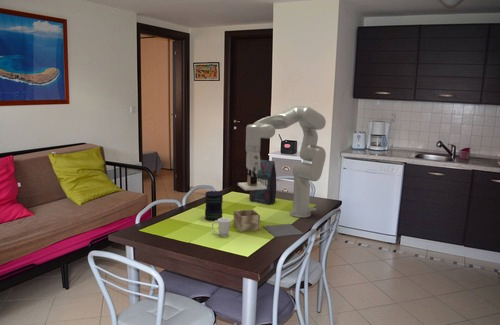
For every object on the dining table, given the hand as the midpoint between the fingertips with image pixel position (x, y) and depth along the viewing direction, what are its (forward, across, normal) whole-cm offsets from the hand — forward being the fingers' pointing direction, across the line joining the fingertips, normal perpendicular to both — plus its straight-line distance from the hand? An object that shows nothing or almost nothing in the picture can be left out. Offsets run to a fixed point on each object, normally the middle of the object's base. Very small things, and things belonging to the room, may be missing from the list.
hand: (252, 182), depth 222 cm
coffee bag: (+26, +46, -24) cm, 58 cm away
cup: (+25, -6, +18) cm, 32 cm away
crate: (+25, +1, +2) cm, 25 cm away
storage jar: (+25, +20, +16) cm, 36 cm away
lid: (+2, 0, 0) cm, 2 cm away
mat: (+25, -9, -15) cm, 30 cm away
